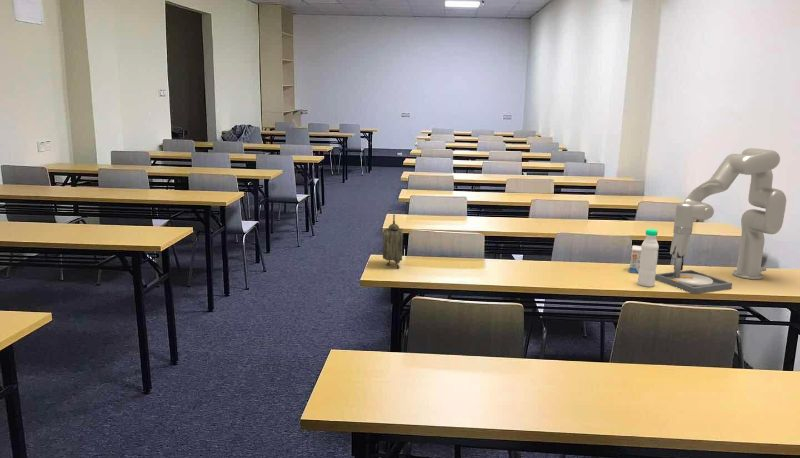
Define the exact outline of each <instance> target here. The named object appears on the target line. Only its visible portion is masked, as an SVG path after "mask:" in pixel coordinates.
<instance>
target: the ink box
mask: <svg viewBox="0 0 800 458" xmlns="http://www.w3.org/2000/svg"><path fill="white" fill-rule="evenodd" d="M641 249H642V247H641V245H632V246H631V250H630V251H631V252H630V253H631V254H630V259H629V260H630V262H629V270H628V271H629V273H632V274H639V269H640V255H641Z"/></svg>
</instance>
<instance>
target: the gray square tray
mask: <svg viewBox="0 0 800 458" xmlns="http://www.w3.org/2000/svg"><path fill="white" fill-rule="evenodd" d="M680 273H690V274H698V275H702V276H706V277H709V278H711V279H712V280H713V284H712V285H708V286H700V287H697V286H690V285H687V284H684V283H681V282H680V281H677V280H674V279H673V275H674V271H670V272H663V273H656V276H655V281H658V282H660V283H663V284H666V285H668V286H671V287H674V288H676V287H677V288H676V289H679V288H680V289H679V290H682V289H683V290H682V291H684V290H685V292H687V291H688V293H690V294H693V295H697V294H705V293H711V292H717V291H718V292H719V291H724V290H731V289H732V288H733V283H732V282H731V281H730V282H729V281H726V280H723V279H720V278H717V277H714V276H711V275H708V274H705V273H702V272H698V271H695V270H692V269H687V270H681V272H680Z"/></svg>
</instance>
